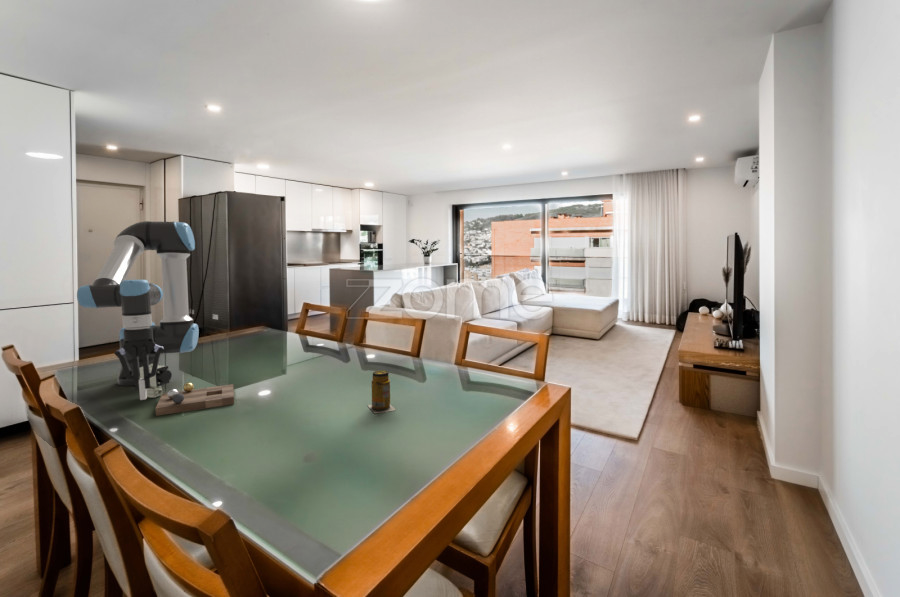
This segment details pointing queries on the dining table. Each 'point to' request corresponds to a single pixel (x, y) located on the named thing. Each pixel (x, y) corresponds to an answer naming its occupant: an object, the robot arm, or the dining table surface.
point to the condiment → (381, 392)
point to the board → (197, 400)
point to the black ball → (178, 398)
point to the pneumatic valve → (157, 380)
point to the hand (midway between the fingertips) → (143, 398)
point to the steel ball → (172, 393)
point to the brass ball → (188, 387)
